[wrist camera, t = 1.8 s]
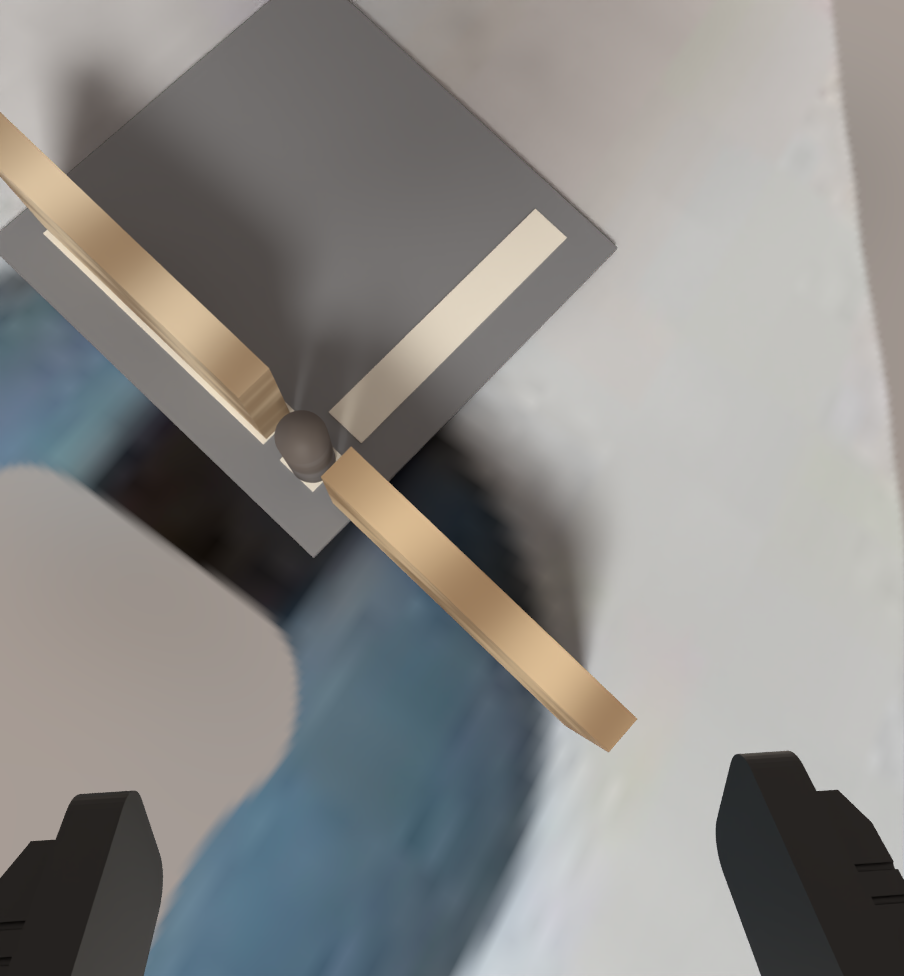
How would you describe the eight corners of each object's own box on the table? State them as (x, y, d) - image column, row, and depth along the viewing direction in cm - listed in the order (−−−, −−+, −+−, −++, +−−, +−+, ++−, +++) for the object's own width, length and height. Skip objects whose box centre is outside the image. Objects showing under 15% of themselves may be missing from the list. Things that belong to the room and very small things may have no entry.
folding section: (332, 503, 36) (320, 476, 29) (357, 478, 36) (351, 446, 29) (565, 725, 35) (608, 752, 28) (588, 699, 36) (637, 718, 29)
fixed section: (47, 238, 38) (-40, 141, 30) (81, 209, 38) (3, 106, 30) (313, 494, 37) (295, 462, 29) (345, 461, 37) (335, 421, 29)
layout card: (-10, 246, 37) (-15, 241, 37) (311, -29, 41) (310, -36, 40) (313, 558, 36) (313, 557, 36) (615, 251, 40) (618, 246, 39)
